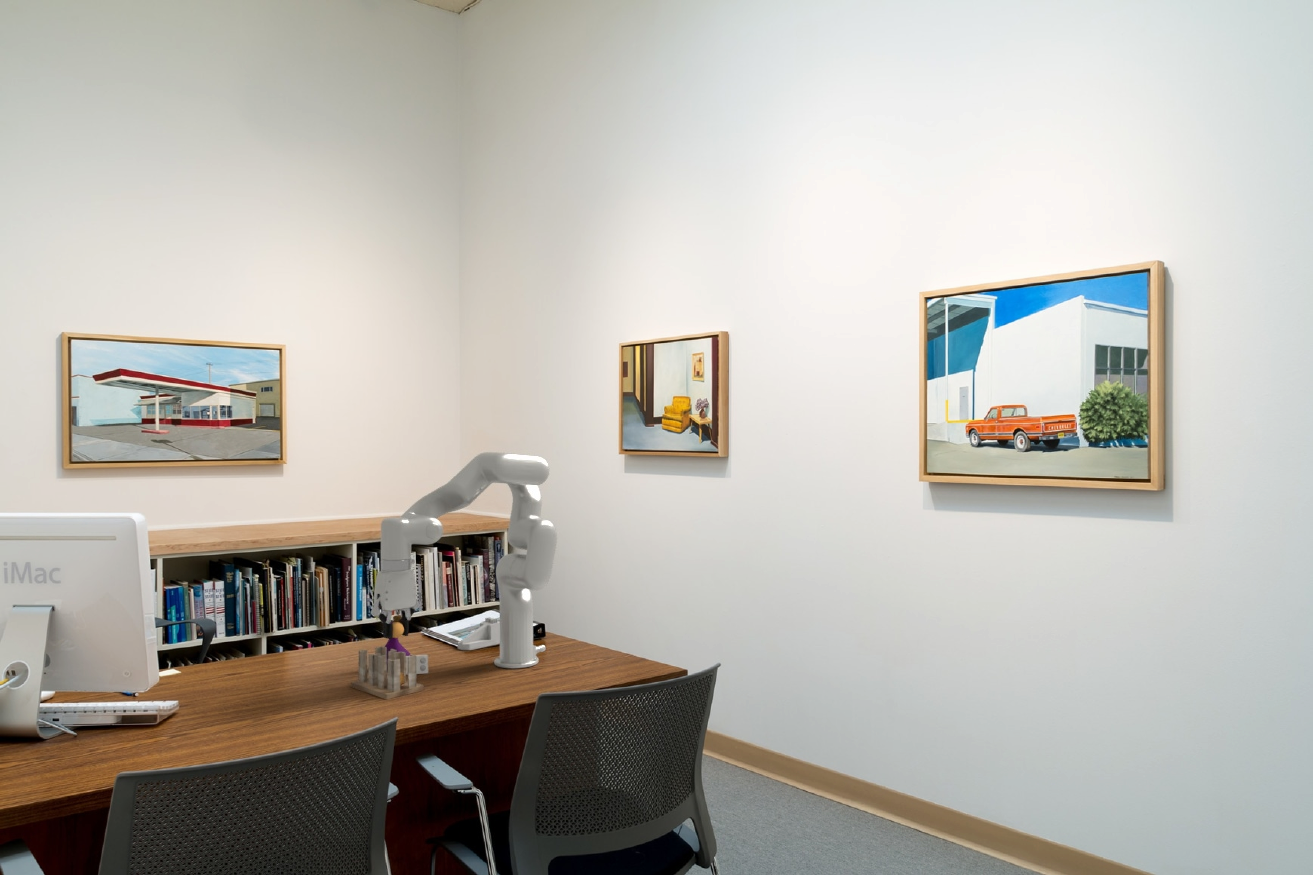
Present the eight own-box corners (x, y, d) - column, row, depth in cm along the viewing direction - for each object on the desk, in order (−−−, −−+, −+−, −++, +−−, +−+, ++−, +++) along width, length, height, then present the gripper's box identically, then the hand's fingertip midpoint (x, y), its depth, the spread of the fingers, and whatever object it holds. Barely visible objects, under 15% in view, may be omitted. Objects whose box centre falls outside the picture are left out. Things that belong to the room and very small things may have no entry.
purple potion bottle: (410, 664, 260) (410, 602, 260) (400, 671, 253) (400, 607, 252) (385, 664, 261) (385, 601, 261) (375, 671, 253) (374, 606, 253)
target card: (398, 674, 249) (398, 656, 249) (428, 672, 251) (428, 654, 251) (398, 675, 249) (398, 657, 249) (428, 673, 251) (428, 655, 251)
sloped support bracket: (455, 648, 280) (454, 622, 280) (502, 638, 293) (501, 614, 293) (465, 651, 276) (465, 625, 276) (512, 641, 289) (512, 616, 289)
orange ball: (398, 635, 236) (398, 619, 236) (407, 637, 233) (407, 622, 233) (384, 637, 233) (384, 622, 233) (393, 640, 230) (393, 624, 230)
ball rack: (387, 678, 246) (387, 644, 246) (424, 689, 235) (423, 654, 235) (350, 686, 238) (350, 651, 237) (386, 699, 226) (386, 662, 226)
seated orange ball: (399, 683, 236) (399, 668, 236) (408, 686, 233) (408, 671, 233) (385, 687, 233) (385, 671, 233) (394, 690, 230) (394, 674, 230)
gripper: (415, 560, 242) (415, 629, 242) (358, 567, 229) (358, 639, 229) (432, 563, 237) (431, 633, 237) (375, 570, 224) (374, 644, 224)
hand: (395, 635), depth 233 cm, fingers closed on orange ball, 3 cm apart
